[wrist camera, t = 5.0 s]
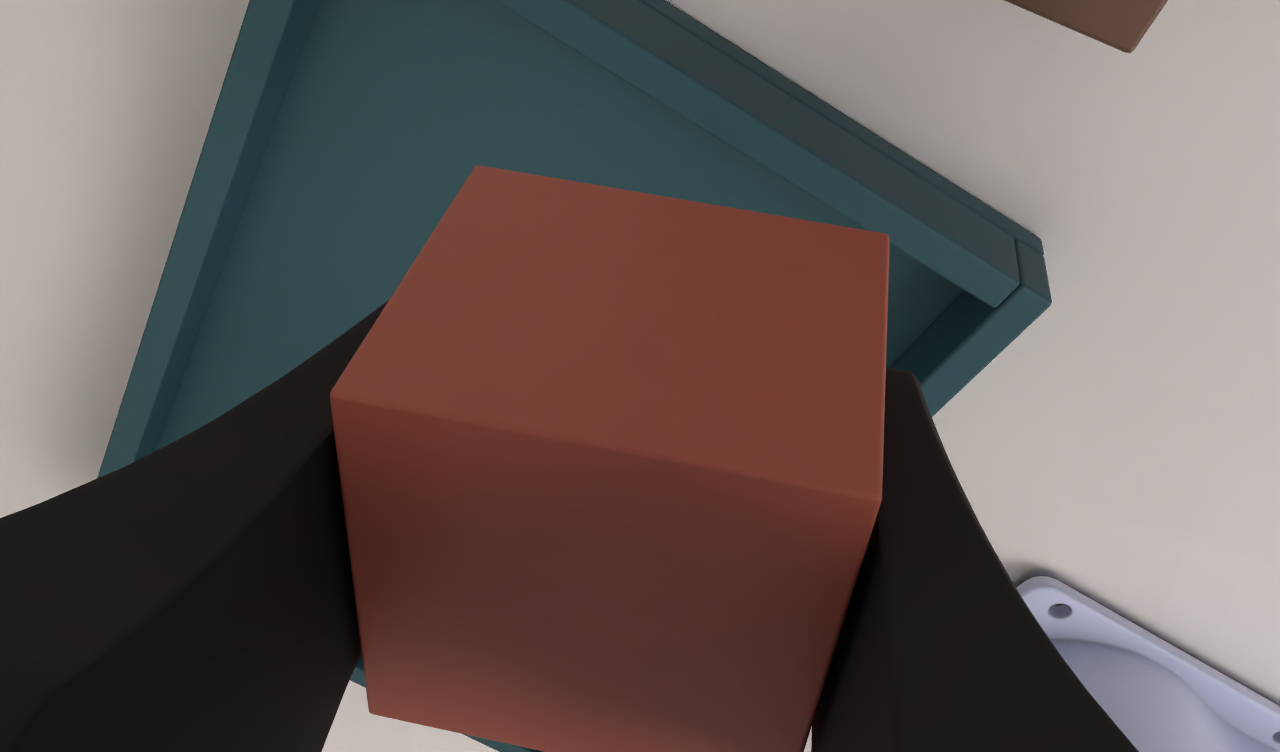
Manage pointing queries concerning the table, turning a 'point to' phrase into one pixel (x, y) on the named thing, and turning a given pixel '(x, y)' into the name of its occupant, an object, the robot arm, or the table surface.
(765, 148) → the tray
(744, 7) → the table surface
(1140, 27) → the base block
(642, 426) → the top block
